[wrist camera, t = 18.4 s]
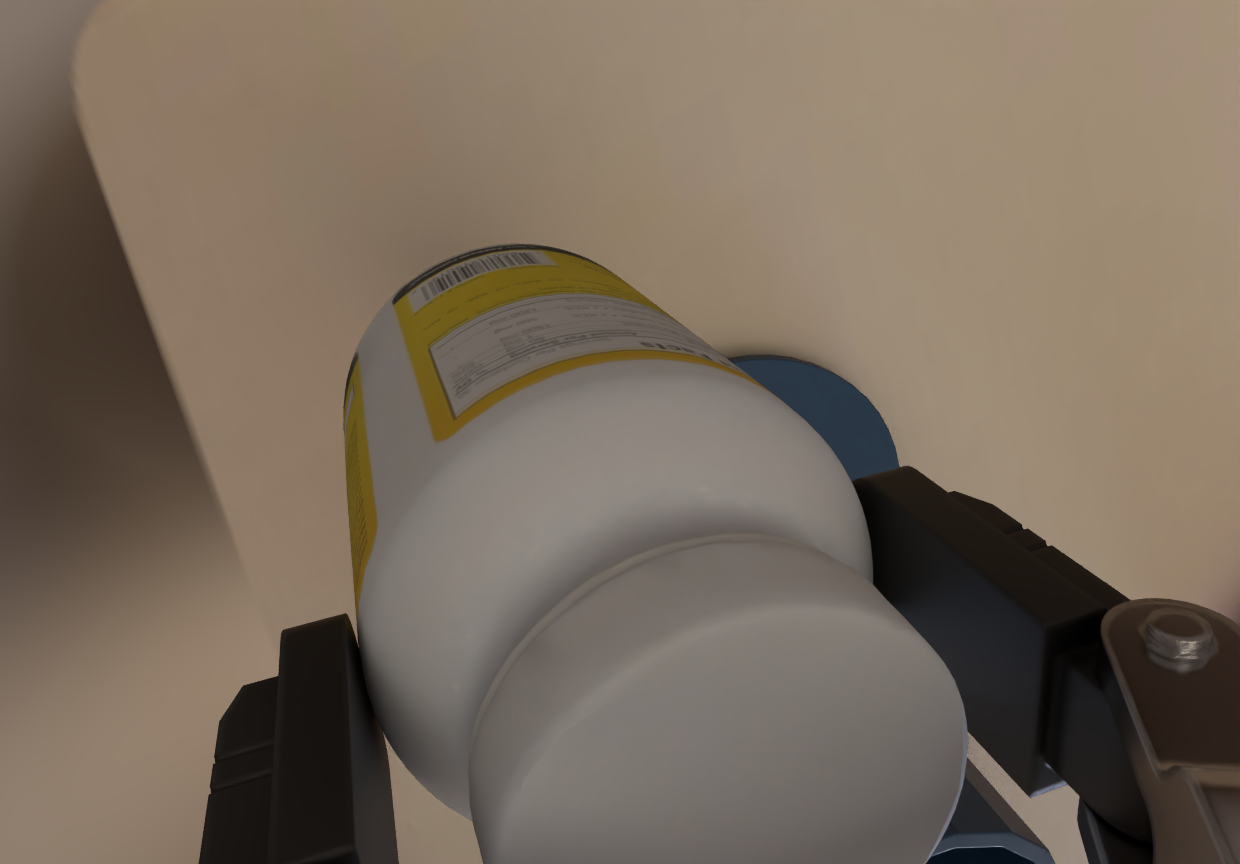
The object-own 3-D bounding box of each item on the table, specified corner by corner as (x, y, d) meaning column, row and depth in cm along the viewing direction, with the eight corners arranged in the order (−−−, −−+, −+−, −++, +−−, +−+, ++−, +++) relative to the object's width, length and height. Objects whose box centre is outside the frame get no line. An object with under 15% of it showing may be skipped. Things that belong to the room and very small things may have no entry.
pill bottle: (471, 592, 20) (630, 1174, 10) (266, 366, 17) (186, 869, 7) (714, 419, 20) (1124, 813, 10) (555, 163, 17) (912, 350, 7)
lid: (587, 698, 35) (638, 829, 30) (533, 394, 30) (582, 482, 24) (885, 609, 38) (985, 714, 32) (885, 315, 33) (1006, 376, 27)
